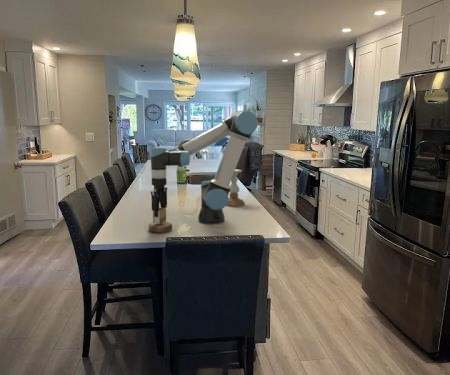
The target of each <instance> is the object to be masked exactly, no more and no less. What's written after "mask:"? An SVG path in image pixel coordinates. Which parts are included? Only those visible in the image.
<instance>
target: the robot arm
mask: <svg viewBox="0 0 450 375" xmlns="http://www.w3.org/2000/svg"><path fill="white" fill-rule="evenodd" d="M258 123H259V120H258V118H257V116H256V114H255V113H254V112H252V111H250V110H246V109H244V110H238V111H235V112H234V113H232V114H231V115H230V116H228V117H227V118H224V119H223V120H222V121H221V123H220V124H217V125H216V126H214V127H212V128H210V129H209V130H207V131H205V132H203V133H202V134H200V135H198V136H196V137H193V138H192V139H190V140H188V141H186V142H185V143H183V144H181V145H179V146H178V147H175V148H173V149H171V150H167V148H166V147H164V146H155V147H154V146H153V147H152V148H151V149H150V165H151V166H150V167H151V168H150V169H151V170H150V173H151V185H152V186H153V190H151V191H150V195H151V197H150V198H151V211H152V212H153V211H154V217H155V223H160V211H159V208H166V209H167V208H168V187H166V186H167V182H168V181H167V167H168V166H169V167H170V166H171V167H172V166H175V167H177V166H179V167H184V166H189V165H190V163H191V162H190V158H191V157H192V156H193V155H194V154H197V153H198V152H200V151H202V150H204V149H206V148H208V147H210V146H212V145H214V144H215V143H217V142H219V141H221V140H222V139H224V138H225V137H229V139H228V142H227V144H226V147H225V150H224V152H223V155H222V157H221V160H220V162H219V165H218V167H217V170H216V172H215V176H214V178H212V179H210V180H204V181H201V185H200V192H201V193H200V196H201V197H200V203H201V204H200V206H201V207H200V211H199V214H198V217H197V218H198V219H197V220H198V222H200V223H201V224H205V225H206V224H207V225H208V224H209V225H212V224H213V225H215V224H222V223H224V222H225V220H226V219H225V217H226V216H225V213H224V210H223V209H224V208H226V207H227V206H226V205H227V203H228V198H229V195H230V189H231V187H230V185H231V179H232V176H233V173H234V171H235V169H237V165H238V163H239V160H240V158H241V156H242V152H243V150H244V147H245V144H246V143H247V142H248V141H250V140H251V138H252V135H253V134H254V132H256V130H257V128H258Z"/></svg>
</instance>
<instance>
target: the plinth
mask: <svg viewBox="0 0 450 375" xmlns="http://www.w3.org/2000/svg"><path fill="white" fill-rule="evenodd" d="M172 231H173V224H172V223H171V222H168V221H166V222H164V223H162V224H160V223H153V222H150V223H149V224H148V232H149V233H151V234H158V235H159V234H167V233H170V232H172Z"/></svg>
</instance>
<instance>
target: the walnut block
mask: <svg viewBox="0 0 450 375" xmlns="http://www.w3.org/2000/svg"><path fill="white" fill-rule="evenodd" d="M159 211H160V224H162V223H164V222H167V208H161V207H159ZM152 223H155V217H154V211H153V210H152Z"/></svg>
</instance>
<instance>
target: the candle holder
mask: <svg viewBox="0 0 450 375" xmlns="http://www.w3.org/2000/svg"><path fill="white" fill-rule="evenodd" d="M242 171H243V170H242V169H237V168H235V171H234V173H233V176H232V179H231V181H230V184H229V185H230V187H231V189H230V192H229V194H228V203H227V205H226V206H225V207H231V208H238V206H239V207H242V206H244V204H245V200H243V199H241V198H239V192H240V187H239V185H238V184H237V182H238V181H239V179H238V175H239V173H241V172H242ZM241 205H242V206H241ZM245 205H246V204H245Z"/></svg>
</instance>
